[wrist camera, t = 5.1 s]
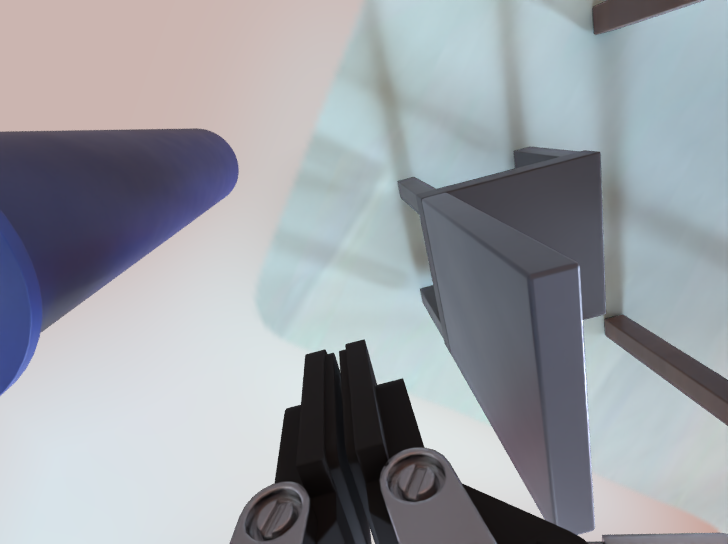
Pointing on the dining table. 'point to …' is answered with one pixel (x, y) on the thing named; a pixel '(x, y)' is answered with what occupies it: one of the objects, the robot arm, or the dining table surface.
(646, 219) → the dining table surface
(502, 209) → the chair
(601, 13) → the desk
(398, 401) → the robot arm
